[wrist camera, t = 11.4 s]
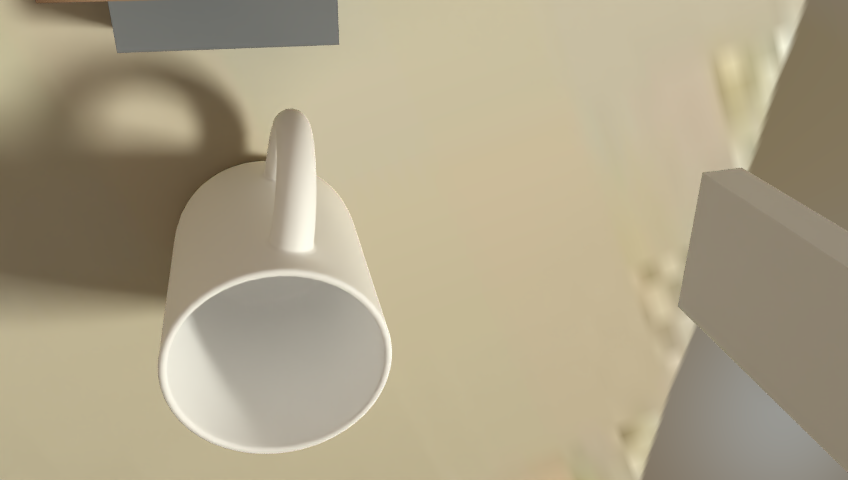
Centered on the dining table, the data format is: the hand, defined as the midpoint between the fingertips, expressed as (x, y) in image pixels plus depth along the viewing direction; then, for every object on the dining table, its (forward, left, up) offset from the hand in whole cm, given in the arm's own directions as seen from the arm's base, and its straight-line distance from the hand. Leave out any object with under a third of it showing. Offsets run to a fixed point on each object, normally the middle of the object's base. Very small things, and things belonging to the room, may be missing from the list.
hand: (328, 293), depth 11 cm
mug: (-1, -9, -22) cm, 23 cm away
